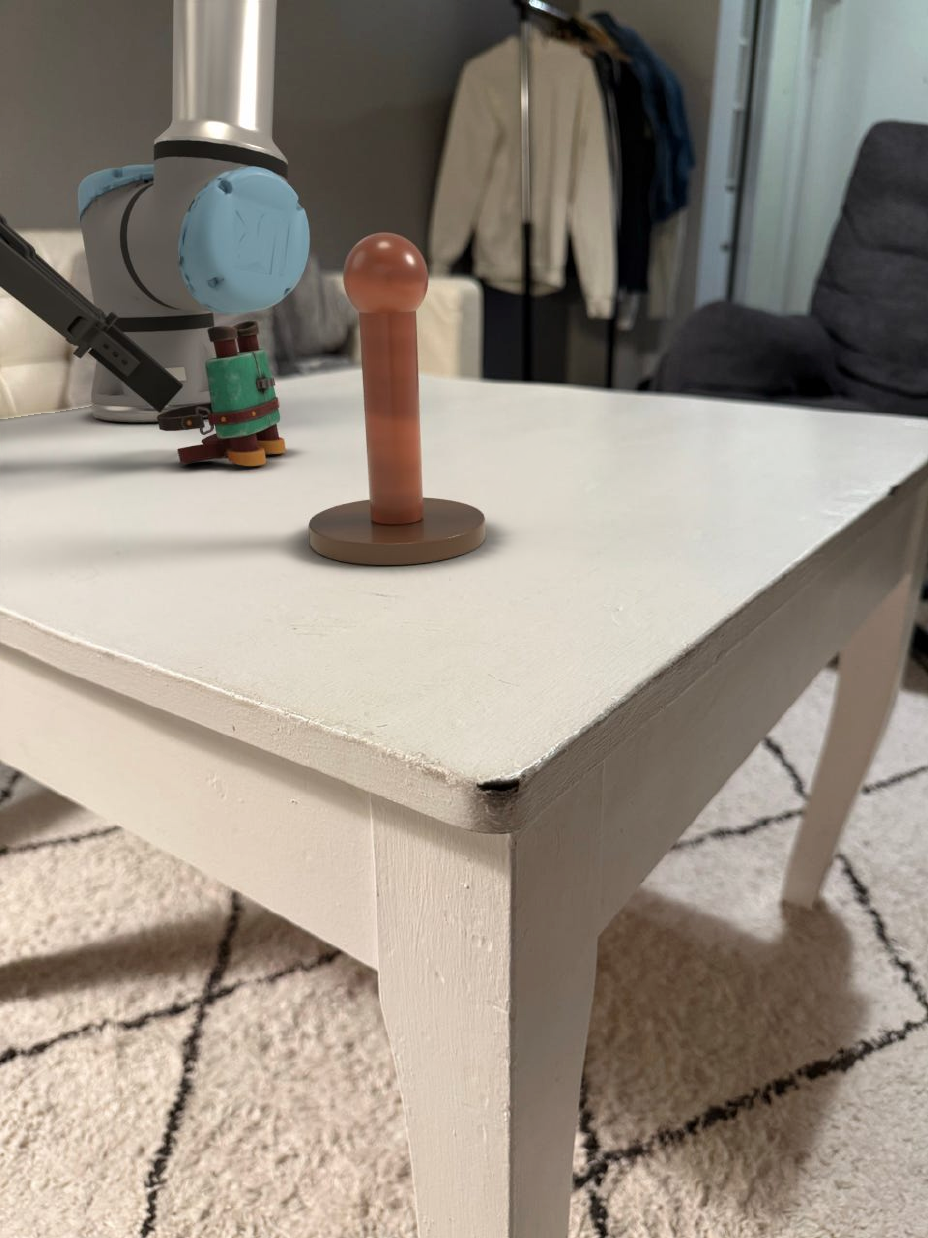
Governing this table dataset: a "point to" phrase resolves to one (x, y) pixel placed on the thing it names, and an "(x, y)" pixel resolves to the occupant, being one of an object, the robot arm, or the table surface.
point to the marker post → (392, 424)
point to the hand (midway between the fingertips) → (171, 398)
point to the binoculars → (233, 403)
